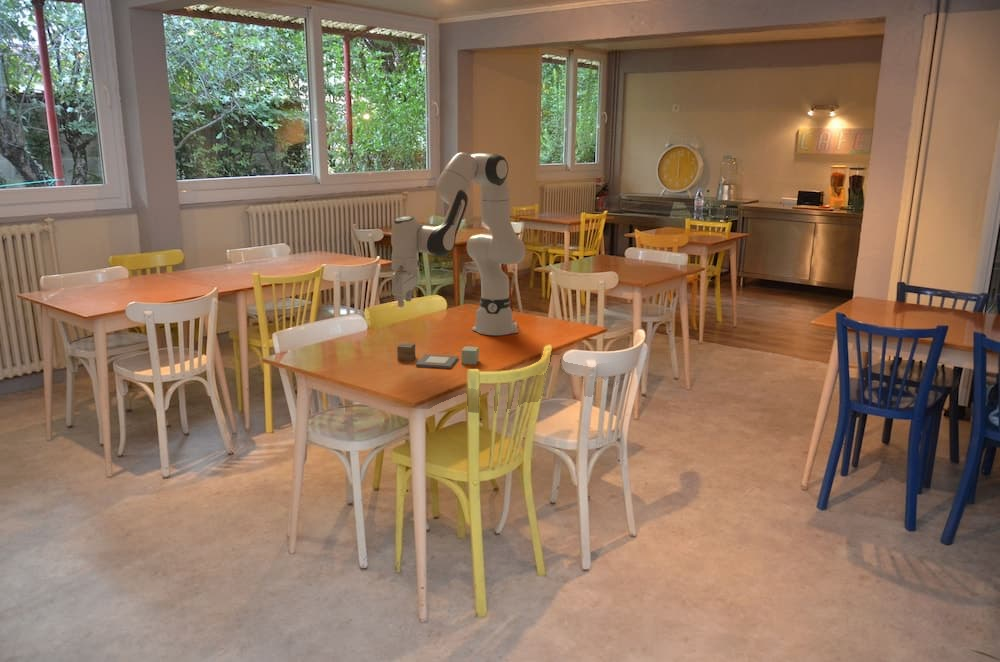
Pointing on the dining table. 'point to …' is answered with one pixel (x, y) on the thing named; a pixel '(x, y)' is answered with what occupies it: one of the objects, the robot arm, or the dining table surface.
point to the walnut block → (406, 351)
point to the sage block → (470, 355)
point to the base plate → (437, 361)
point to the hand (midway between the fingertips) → (404, 303)
